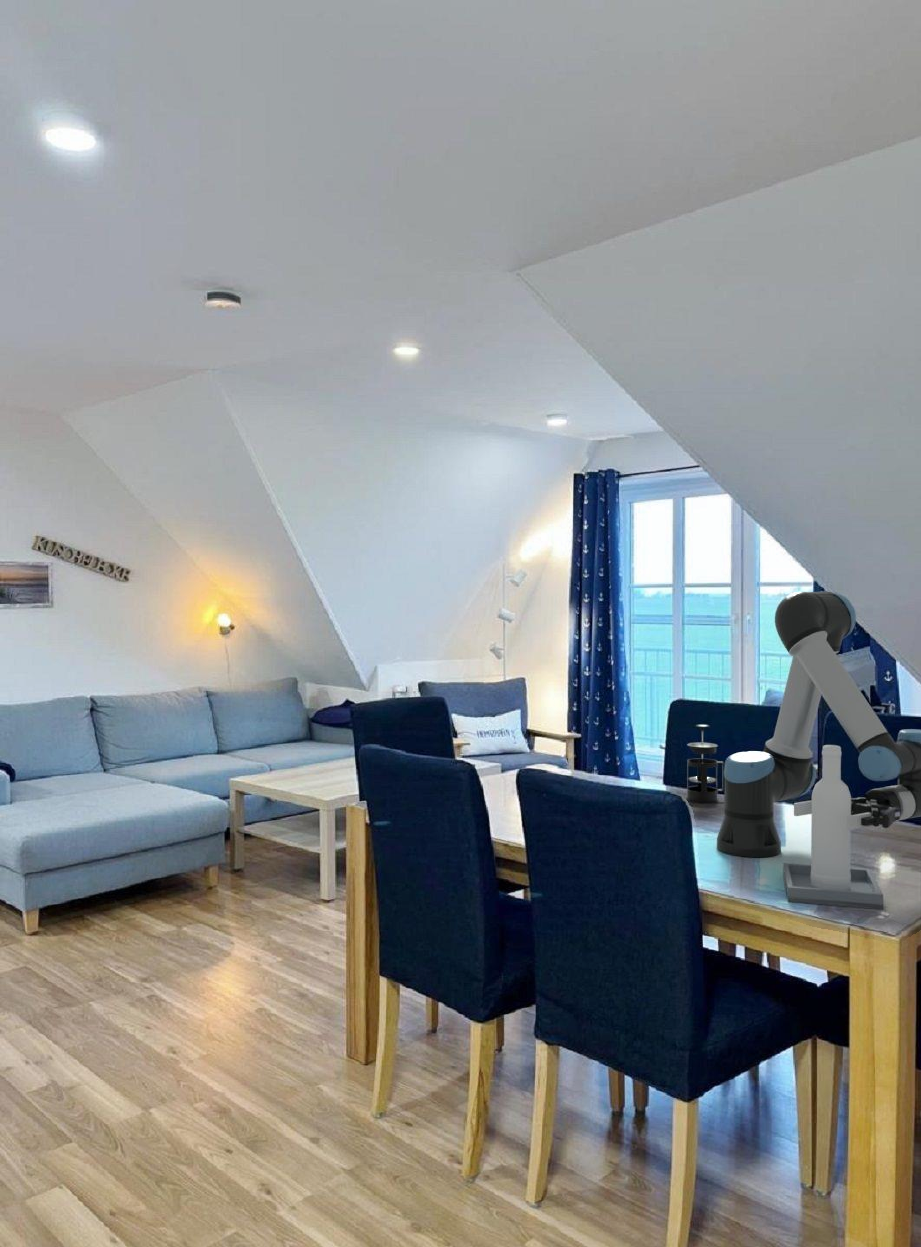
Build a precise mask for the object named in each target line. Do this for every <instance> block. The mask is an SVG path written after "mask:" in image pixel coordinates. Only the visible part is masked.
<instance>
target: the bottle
mask: <svg viewBox="0 0 921 1247" xmlns="http://www.w3.org/2000/svg"><path fill="white" fill-rule="evenodd" d="M821 755H822V769H821V770H822V773H821V774H822V778H821V779H820V780H819V781H817V782H816V783H814V787H813V790H812V794H811V797H812V814H811V836H810V838H811V840H810V841H811V843H810V845H811V846H810V847H811V848H810V850H811V851H810V852H811V853H810V855H811V856H810V865H811V886H812V887H813V888H822V889H835V890H850V883H851V873H850V868H851V848H852V847H851V841H852V840H851V838H852V837H851V836H852V834H851V833H852V830H848V829H847V816H850V815H851V811H852V806H851V798H852V795H851V792H850V790H849V786H848V785H847V784H846V783H845V782H844V781H843V780H842V779H841V778H842V776H841V774H842V771H841V770H842V769H841V768H842V767H841V766H842V764H841V763H842V747H841V746H840V745H836V744H825V745H823V746H822V751H821Z"/></svg>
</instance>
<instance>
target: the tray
mask: <svg viewBox="0 0 921 1247" xmlns="http://www.w3.org/2000/svg"><path fill="white" fill-rule="evenodd" d="M782 863H783V865H782V867H783V868H782V870H783V871H782V873H783V874H782V876H783V882H784V888H785V893H786V894H785V895H786V900H787V902H788V903H796V904H809V905H811V904H812V905H822V906H823V905H824V906H835V907H836V906H837V907H845V908H846V907H848V908H857V909H858V908H859V909H860V908H862V909H870V910H871V909H873V910H884V893H883V892H882V889H881V888H880V887H881V886H880V885H879V884H878V881H877V879H876V877H875V875H874V873H873V872H872V869H871V868H863V867H862V868H858V867H850V873H851V883H850V890H835V889H822V888H813V887H812V886H811V864H802V863H787V862H782Z"/></svg>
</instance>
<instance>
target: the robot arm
mask: <svg viewBox="0 0 921 1247" xmlns="http://www.w3.org/2000/svg"><path fill="white" fill-rule="evenodd" d="M856 615H857V614H856V610H855V608H854V606H853V605H852V603H851V601H850V600H849V599H848V598H847V597H846V596H844V595H842V594H841V593H837V592H832V591H827V590H821V591H796V592H793V593H791V594H788V595H787V596H785V597H784V598H783V599H782V600H781V601H780V602H779V603H778V605H777V608H776V610H775V613H774V624H775V629H776V632H777V634H778V637H779V639H780V641H781V643H782V645H783V647H784V648H785V649H786V651H787V652H788V654H789V655H790V656H792V659H791V663H790V668H789V672H788V676H787V680H786V683H785V688H784V693H783V696H782V701H781V703H780V708H779V713H778V716H777V721H776V725H775V728H774V733H773V736H772V738H770V739H768V740H766V741H765V743H764V749H763V751H756V750H749V751H741V752H740V751H739V752H736V753H733V754H731V755H729V756H728V757H727V758H725V759H726V760H725V762H724V791H723V793H724V794H723V795H724V796H723V797H724V800H723V801H724V803H723V804H724V806H723V807H724V812H723V813H724V815H723V820H722V823H721V825H720V829H719V831H718V834H717V837H716V848H717V850H718V851H721V852H723V853H725V854H729V855H733V856H737V857H738V856H739V857H744V858H745V857H746V858H767V857H768V858H769V857H774V856H777V855H780V854H781V852H782V843H781V839H780V835H779V833H778V829H777V826H776V823H775V820H774V819H775V816H774V812H775V811H774V807H775V806H774V805H775V803H777V802H782V801H786V800H794V799H796V798H799V797H801V796H803V795H806V794H807V793H808V792H810V790H811V789H812V788H813V786H814V785H815V782H816V777H817V770H816V767H815V766H814V761H813V756H814V755H813V752H812V750H811V748H810V747H809V745H810V741H811V736H812V733H813V729H814V725H815V721H816V718H817V712H818V709H819V707H820V702H821V697H822V698H823V699H824V701H825V702H826V704H827V706H828V707H829V708H830V710H831V712H832V713H833V715H834V716H835V717H836V719H837V721H838V722H839V724H840V725H841V727H842V728H843V729H844V731H845V733H846V734H847V737H849V739H850V740H851V742H852V744H853V745H854V747H855V748H856V749H857V751H858V753H859V756H858V759H857V760H858V761H857V763H858V768H859V770H860V772H861V773H862V775H863V776H864V777H865V778H867V779H868V780H870V781H874V782H885V781H886V782H887V781H890V780H891V781H892V780H894V779H897V785H896V784H895V785H890V786H884V787H879V788H873V789H870V790H868V791H867V792H866V793H865V794H864V796H862V797H861V796H858V797H851V815H850V816H847V829H848V830H851V831H852V830H857V829H863V828H869V827H872V826H874V827H879V826H881V827H882V828H883V829H888V828H890V827H891V825H892V824H894V823H895V824H896V823H897V824H898V822H899V821H903V820H907V819H914V818H919V817H921V729H915V728H913V729H912V728H910V729H909V728H908V729H906V728H905V729H901V730H899V732H898V734H897V739H896V741H895V740H894V738H893V737H892V735H891V734H890V733H889V732H888V730H887V728H886V727H885V726H884V724H883V722H882V721H881V720H880V718H879V716H878V715H877V714H876V712H875V710H873V708H872V706H871V705H870V704H869V702H868V701H867V699H866V697H865V696H864V694H863V693H862V691H861V690H860V689H859V687H858V685H857V684H856V682H855V681H854V679H853V678H852V676H851V675H850V673H849V672H848V670H847V669H846V667H845V666H844V664H843V663H842V661H841V659H839V657H838V656H837V654H838V653H839V652H840V650H841V646H842V642H843V639H845V638H846V637H848V636H849V635H850V634H851V633H852V632H853V630H854V628H855V626H856V621H857V616H856ZM806 815H812V796H808V797H807V800H806V801H799V802H794V803H793V816H794V817H800V816H806Z"/></svg>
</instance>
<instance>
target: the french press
mask: <svg viewBox="0 0 921 1247" xmlns="http://www.w3.org/2000/svg"><path fill="white" fill-rule="evenodd" d="M695 727H696V728H697V727H698V728H700V732H701V742H689V743H687V744H686V745H687V747H689V749H690V750H691V751H692V752H693V753H694V754H696V755H701V758H698V757H697V758H696V757H695V758H689V759H687V761H686V762H687V765H686V766H687V770H686V771H687V772H686V774H687V778H686V780H687V781H686V784H687V785H686V788H687V789H686V801H688V802H691V803H697V804H714V803H718V802H719V798H718V795H719V794H718V792H724V770H725V762H724V761H722V760H721V761H720V760H719V761H718V760H716V759H713V758H704V755H712V754H716V753H717V748H718V747H719V746H718V744H716V743H711V742H704V732H705V728H710V725H709V724H696V725H695ZM719 764H722V767H721V768H722V771H721V772H722V775H721V776H722V777H721V778H722V783H721V784H722V786H721V787H722V788H718V779H719V778H718V777H719V776H718V771H719V768H718V766H719ZM689 767H690V768H691V767H693V768H697V776H690V775H689V773H690V772H689V770H690V769H689ZM708 768H709V769H710V768H715V777H712V776H711V777H710V776H708ZM689 776H690V777H689ZM689 783H692V784H693V783H695V784H697V785H692V786H689ZM714 783H715V787H712V786H708V784H714Z"/></svg>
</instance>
